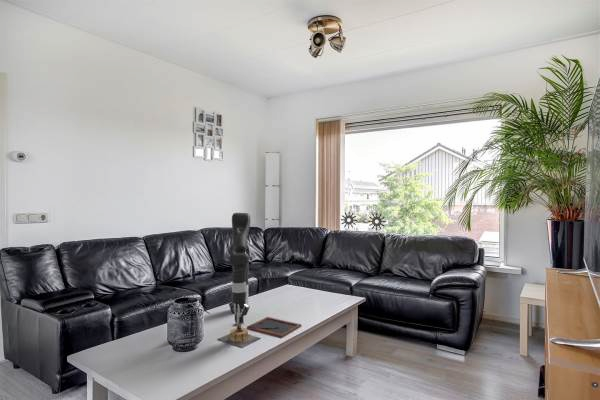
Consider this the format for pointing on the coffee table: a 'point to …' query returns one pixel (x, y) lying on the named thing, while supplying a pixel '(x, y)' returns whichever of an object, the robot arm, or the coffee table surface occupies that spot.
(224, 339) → the cake on slate board
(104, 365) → the coffee table surface
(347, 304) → the coffee table surface
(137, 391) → the coffee table surface
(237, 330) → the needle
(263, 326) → the picture frame
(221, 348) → the coffee table surface
